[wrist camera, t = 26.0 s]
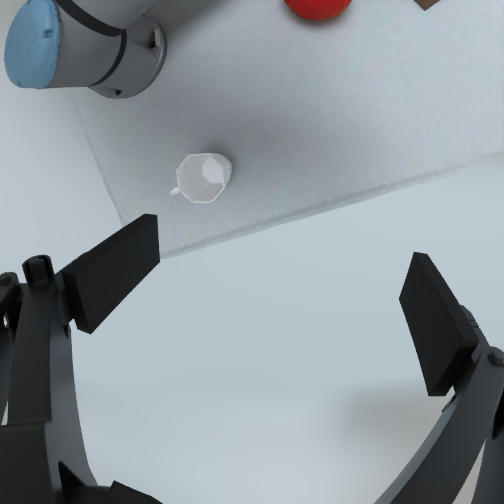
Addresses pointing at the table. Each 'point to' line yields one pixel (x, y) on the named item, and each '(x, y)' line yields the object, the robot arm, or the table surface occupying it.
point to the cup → (202, 177)
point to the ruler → (426, 3)
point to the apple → (318, 8)
